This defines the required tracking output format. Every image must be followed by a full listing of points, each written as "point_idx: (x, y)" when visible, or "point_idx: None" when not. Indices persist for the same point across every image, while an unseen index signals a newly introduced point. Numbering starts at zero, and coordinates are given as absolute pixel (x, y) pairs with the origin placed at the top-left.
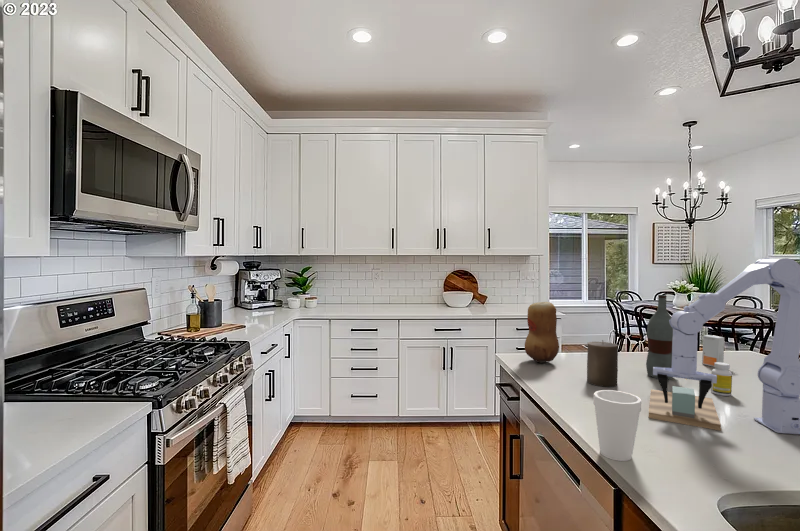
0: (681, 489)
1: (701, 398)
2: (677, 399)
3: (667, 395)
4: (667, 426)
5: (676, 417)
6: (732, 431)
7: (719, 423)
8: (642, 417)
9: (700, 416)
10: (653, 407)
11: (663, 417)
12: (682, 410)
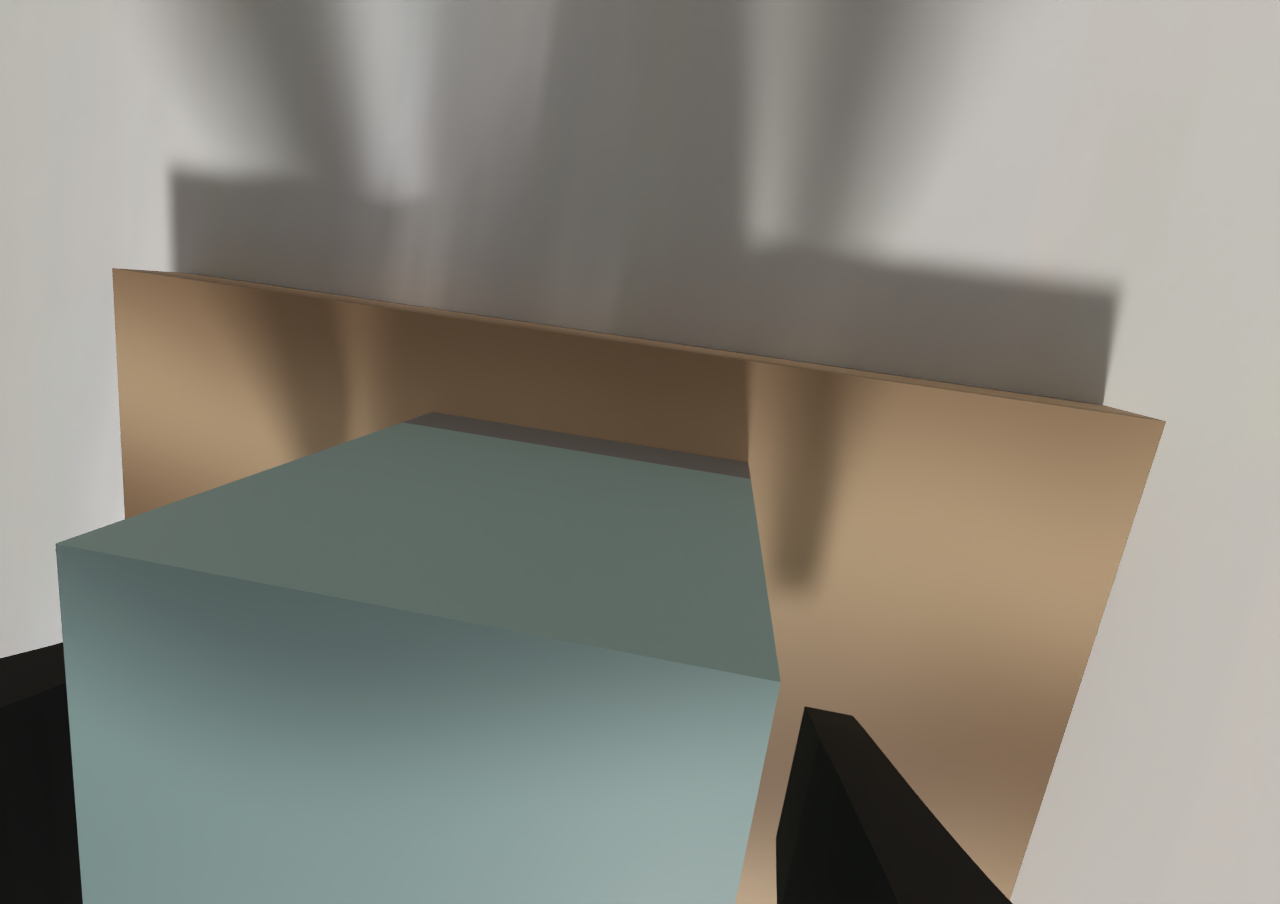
0: None
1: (25, 680)
2: (640, 551)
3: (858, 808)
4: (879, 97)
5: (701, 356)
6: (70, 316)
7: (127, 327)
8: (1206, 388)
9: None
10: (989, 732)
11: (894, 378)
12: (577, 462)
